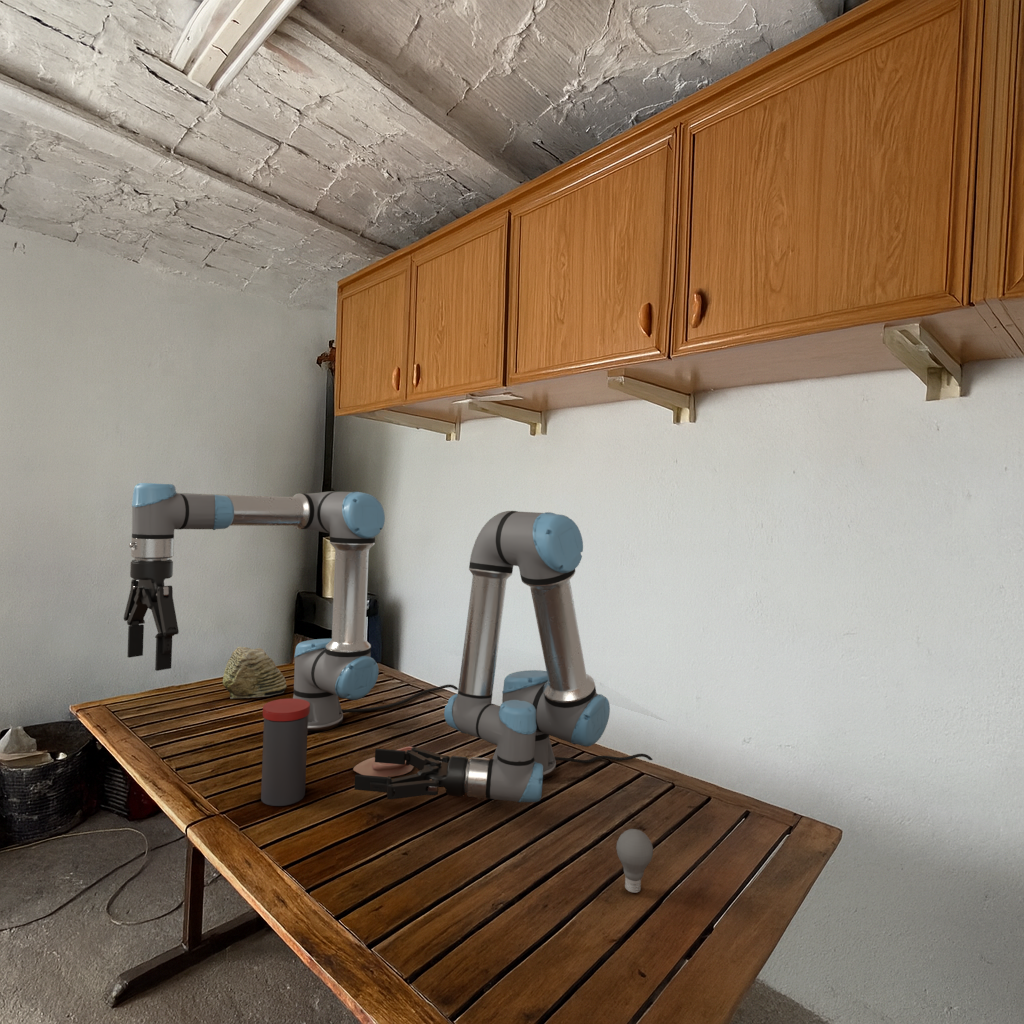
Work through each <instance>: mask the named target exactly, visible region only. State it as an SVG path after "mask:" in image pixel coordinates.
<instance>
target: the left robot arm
mask: <svg viewBox="0 0 1024 1024" xmlns="http://www.w3.org/2000/svg"><path fill="white" fill-rule="evenodd" d="M385 515H386V513H385V511H384V508H383V505H382V503H381V502H380V501H379V500H378V498H377V497H375V495H373V494H370V493H367V492H363V491H362V492H361V491H337V490H336V491H335V490H333V491H332V490H330V491H321V492H311V493H295V494H294V495H293V496H276V495H275V496H274V495H273V496H272V495H248V494H247V495H246V494H244V495H243V494H220V493H219V494H218V493H217V494H216V493H215V494H214V493H189V492H187V493H186V492H177V491H176V486H175V485H174V484H173V483H152V482H139V483H137V484H136V485H135V486H134V488H133V492H132V501H131V520H132V521H131V542H130V543H128V547H129V548H130V549H131V550H130V556H131V558H133V559H132V560H131V561H130V567H129V568H130V571H129V574H130V575H129V576H130V578H131V581H130V590H129V594H128V598H127V603H126V607H125V610H124V615H123V621H124V622H126V624H127V626H128V629H127V630H128V631H127V658H135V657H142V656H144V635H145V634H144V630H145V625H144V624H145V623H146V621H145V619H144V618H145V616H146V615H147V612H148V609H149V610H151V613H152V618H153V620H154V624H155V627H156V631H157V633H156V635H155V636H154V638H155V661H154V663H155V665H154V668H155V669H154V670H155V671H157V672H159V671H164V670H169V669H172V659H173V657H172V655H173V637H175V636H176V635H179V632H180V631H179V625H178V619H177V615H176V614H177V613H176V609H175V603H174V597H173V595H174V593H173V585H165V580H167V579H171V578H172V577H173V575H174V573H173V572H174V561H173V560H172V559H171V558H173V557H174V554H175V553H174V552H175V530H213V531H215V530H224V529H228V528H230V526H233V527H234V526H237V527H238V526H240V527H243V526H246V527H247V526H249V527H250V526H258V527H259V526H268V527H269V526H276V527H277V526H282V527H284V526H285V527H286V526H287V527H288V526H289V527H290V526H291V527H293V528H294V529H296V530H308V531H309V530H310V531H316V532H319V533H325V534H329V544H330V545H331V546H332V547H333V548H334V550H335V551H334V572H333V573H334V577H333V599H332V625H331V626H332V627H331V638H317V639H308V640H304V641H300V642H299V643H297V645H296V646H295V650H294V655H293V657H294V672H293V673H294V674H293V695H292V696H293V697H292V698H294V699H302V700H306V701H308V702H309V703H310V713H309V714H308V730H307V733H316V732H325V731H329V730H332V729H335V728H337V727H339V726H340V725H342V723H343V722H344V713H347V714H349V713H350V714H353V713H367V712H375V711H381V710H384V709H389V708H390V709H391V708H393V707H397V706H400V705H402V704H405V703H407V702H410V701H411V700H413V699H415V698H418V697H420V696H423V695H425V694H427V693H431V692H436V691H440V690H443V689H448V688H452V689H454V690H455V691H457V690H458V688H459V687H457V686H456V685H454V684H444V685H440V686H436V687H433V688H428V689H425V690H422V691H419V692H416V693H415V694H412V695H411V696H408V697H406V698H405V699H402V700H399V701H396V702H394V703H390V704H385V705H380V706H373V707H366V708H352V709H350V708H344V709H343V708H342V706H341V702H340V699H339V698H341V699H342V700H343V699H344V700H348V701H349V700H350V701H357V700H360V699H362V698H364V697H365V696H367V695H368V694H370V692H371V690H372V689H374V687H375V685H376V683H377V682H378V678H379V674H380V672H379V671H380V670H379V669H380V668H379V665H378V663H377V662H376V660H375V659H374V657H371V652H372V649H371V648H372V644H371V643H370V642H368V640H367V639H366V631H367V607H368V606H367V605H368V604H367V602H368V582H369V581H368V579H369V555H370V553H369V552H370V550H371V548H372V547H374V545H375V544H376V536H378V535H379V534H380V533H381V530H383V528H384V526H385V522H386V521H385V520H386V516H385Z"/></svg>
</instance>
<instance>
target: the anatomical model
mask: <svg viewBox="0 0 1024 1024" xmlns="http://www.w3.org/2000/svg"><path fill="white" fill-rule="evenodd" d="M412 747H413V746H406V747H405V746H404V747H401V748H398V749H397V750H400V751H407V750H411V748H412ZM414 768H415V767H414V766H412V765H408V766H406V760H405V764H404V765H402V764H390V763H379V762H375V756H374V757H370V758H367V759H364V760H363V761H361V762H359V763H358V764H356V765H355V766H354V767H353V768H352V770H353V771H354V772H356V773H357V774H358V775H369V776H380V777H388V776H389V777H391V778H392V777H399V776H403V775H405V774H408V773H410V772H411V771H413V770H414Z"/></svg>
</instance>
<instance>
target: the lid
mask: <svg viewBox="0 0 1024 1024" xmlns="http://www.w3.org/2000/svg"><path fill="white" fill-rule="evenodd" d="M309 713H310V703H309V702H308V701H306V700H302V699H294V698H293V697H291V698H279V699H274V700H271V701H268V702H266V703H264V705H262V718H263V719H264V718H265V719H267V720H271V721H293V720H298V719H301V718H304V717H306V716H307V715H308V714H309Z"/></svg>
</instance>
